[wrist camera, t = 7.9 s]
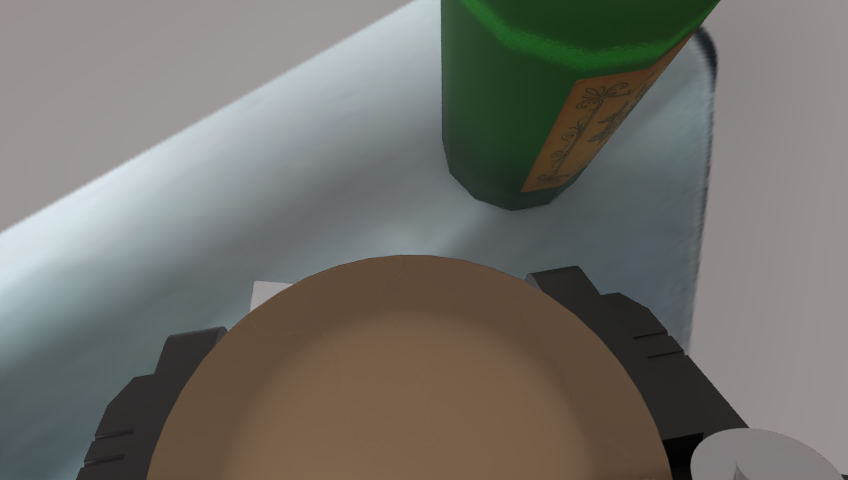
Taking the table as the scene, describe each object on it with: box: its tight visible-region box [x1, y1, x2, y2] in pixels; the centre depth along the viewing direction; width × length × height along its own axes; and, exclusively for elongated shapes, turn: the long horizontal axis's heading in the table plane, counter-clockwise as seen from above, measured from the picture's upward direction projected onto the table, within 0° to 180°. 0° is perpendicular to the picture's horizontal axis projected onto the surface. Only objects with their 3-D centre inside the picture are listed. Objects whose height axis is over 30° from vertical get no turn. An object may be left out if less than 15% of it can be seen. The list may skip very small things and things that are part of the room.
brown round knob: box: [146, 255, 673, 480], centre depth 14 cm, size 4×4×18 cm
